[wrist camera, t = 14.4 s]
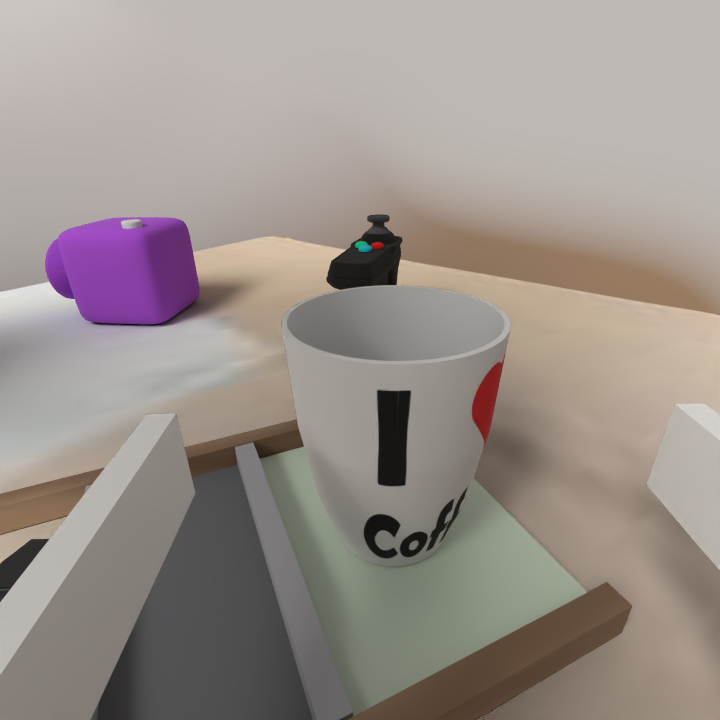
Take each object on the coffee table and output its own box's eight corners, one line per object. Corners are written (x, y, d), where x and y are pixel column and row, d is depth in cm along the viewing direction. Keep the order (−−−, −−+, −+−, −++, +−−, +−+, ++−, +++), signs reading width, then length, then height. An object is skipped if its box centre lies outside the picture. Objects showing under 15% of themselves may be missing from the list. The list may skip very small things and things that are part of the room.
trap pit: (94, 509, 21) (85, 485, 21) (256, 463, 24) (253, 442, 24) (39, 912, 10) (15, 889, 9) (354, 739, 13) (352, 712, 12)
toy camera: (90, 299, 52) (63, 211, 47) (207, 294, 53) (192, 207, 48) (37, 334, 42) (-3, 228, 38) (182, 328, 43) (159, 223, 39)
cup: (355, 640, 15) (345, 390, 11) (277, 496, 22) (252, 303, 17) (521, 545, 19) (564, 328, 14) (411, 446, 25) (418, 275, 21)
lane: (-134, 557, 19) (-153, 532, 18) (403, 411, 29) (404, 392, 28) (-744, 1449, 6) (-882, 1474, 5) (621, 632, 16) (632, 605, 15)
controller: (404, 310, 46) (407, 212, 42) (373, 360, 36) (373, 236, 31) (365, 306, 48) (364, 211, 43) (324, 354, 37) (317, 233, 33)
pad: (256, 463, 24) (255, 459, 24) (412, 420, 28) (412, 416, 28) (354, 739, 13) (353, 734, 13) (595, 606, 17) (596, 601, 16)
